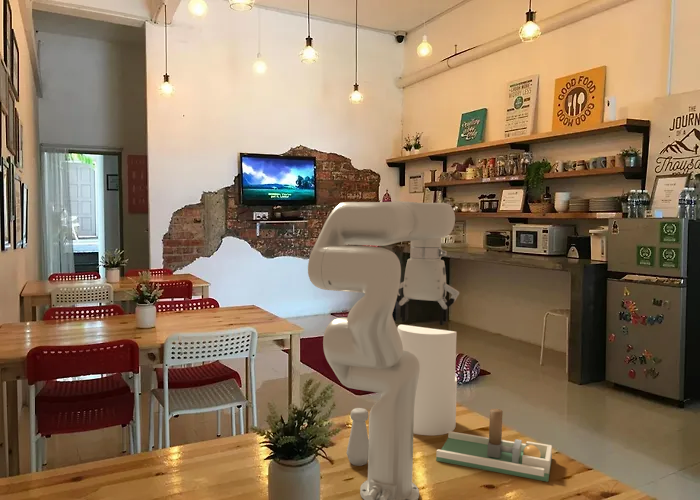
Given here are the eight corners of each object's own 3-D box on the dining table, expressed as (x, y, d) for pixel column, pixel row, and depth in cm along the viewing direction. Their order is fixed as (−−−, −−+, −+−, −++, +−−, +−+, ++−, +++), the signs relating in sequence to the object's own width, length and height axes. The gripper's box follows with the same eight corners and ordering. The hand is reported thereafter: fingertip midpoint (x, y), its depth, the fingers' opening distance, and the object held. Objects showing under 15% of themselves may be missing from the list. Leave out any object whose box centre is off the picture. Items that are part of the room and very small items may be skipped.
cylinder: (441, 440, 152) (444, 337, 150) (384, 426, 161) (387, 329, 159) (464, 421, 166) (467, 326, 165) (411, 409, 175) (413, 320, 174)
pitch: (548, 481, 129) (548, 464, 129) (436, 460, 139) (436, 444, 139) (551, 457, 142) (552, 442, 141) (449, 440, 152) (449, 425, 151)
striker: (518, 463, 135) (520, 418, 134) (486, 457, 138) (488, 413, 137) (521, 453, 141) (522, 410, 140) (490, 448, 144) (491, 406, 143)
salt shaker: (368, 468, 134) (369, 414, 133) (344, 466, 135) (345, 412, 134) (372, 458, 139) (373, 406, 138) (349, 456, 140) (350, 404, 140)
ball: (520, 449, 136) (524, 465, 136) (537, 448, 134) (541, 464, 134) (522, 443, 139) (526, 459, 139) (539, 442, 138) (542, 458, 138)
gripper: (463, 255, 141) (461, 323, 142) (396, 252, 147) (395, 317, 148) (456, 256, 134) (454, 328, 135) (387, 253, 140) (385, 321, 141)
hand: (423, 322), depth 141 cm, fingers open, 9 cm apart
